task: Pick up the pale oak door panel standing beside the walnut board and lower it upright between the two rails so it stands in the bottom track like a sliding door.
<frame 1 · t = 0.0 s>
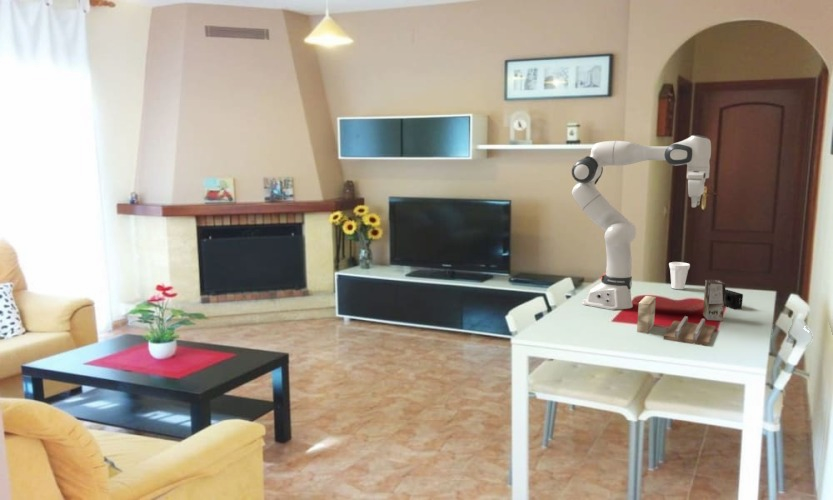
hand: (695, 206, 285), 48 cm above the table, fingers open, 8 cm apart
door panel: (645, 328, 272), on the table
digital camera: (728, 306, 307), on the table
track base: (689, 334, 264), on the table
coffee box: (712, 318, 288), on the table
cup: (677, 289, 342), on the table
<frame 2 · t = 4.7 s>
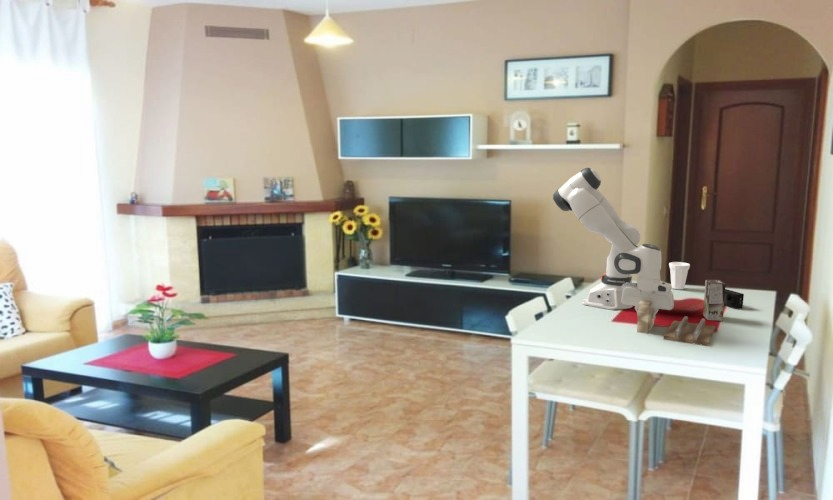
hand: (646, 317, 271), 5 cm above the table, fingers closed on door panel, 4 cm apart
door panel: (645, 328, 272), on the table, touching gripper
everything else where it was.
when the fingers open (7 cm above the table, at t = 11.4 s): door panel stays where it is, resting on track base.
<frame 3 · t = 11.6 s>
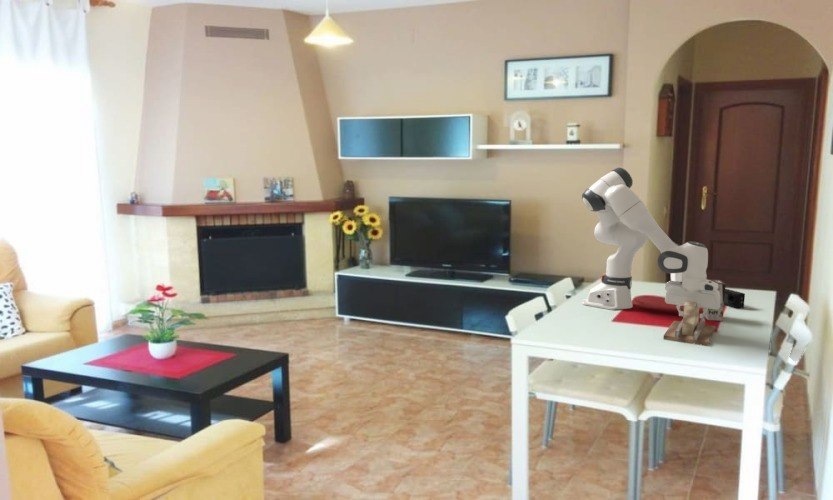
hand: (691, 317, 263), 7 cm above the table, fingers open, 6 cm apart
door panel: (690, 330, 264), point 2 cm above the table, touching track base
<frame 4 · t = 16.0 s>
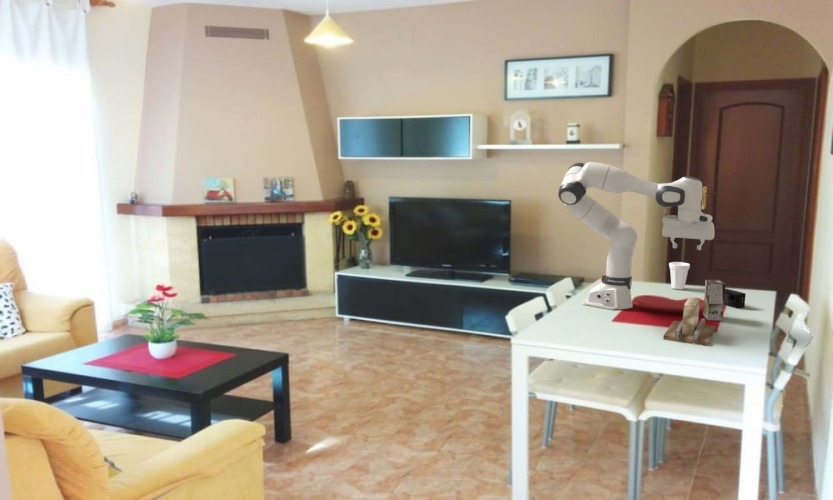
hand: (686, 248, 278), 31 cm above the table, fingers open, 8 cm apart
at the end: door panel inside the target area on the track base (0.1 cm from its centre), point 1.5 cm above the track base's base; door panel tilted 0°; the gripper is holding nothing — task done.
